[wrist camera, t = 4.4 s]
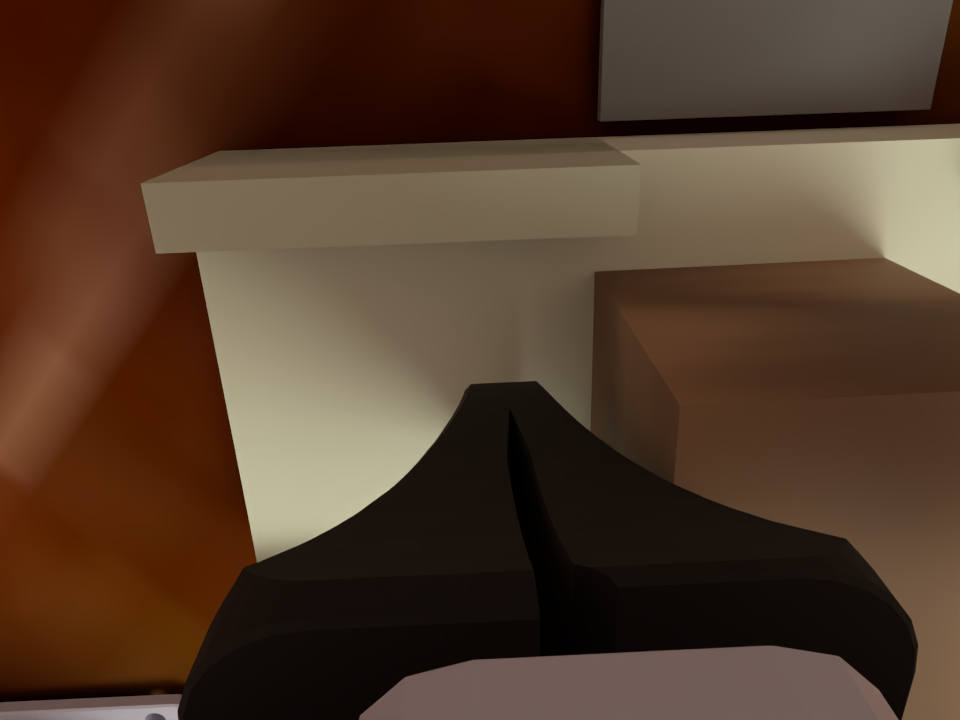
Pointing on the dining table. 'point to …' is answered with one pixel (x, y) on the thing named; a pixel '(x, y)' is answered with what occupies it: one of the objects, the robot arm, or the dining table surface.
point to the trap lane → (493, 273)
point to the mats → (767, 57)
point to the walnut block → (803, 415)
